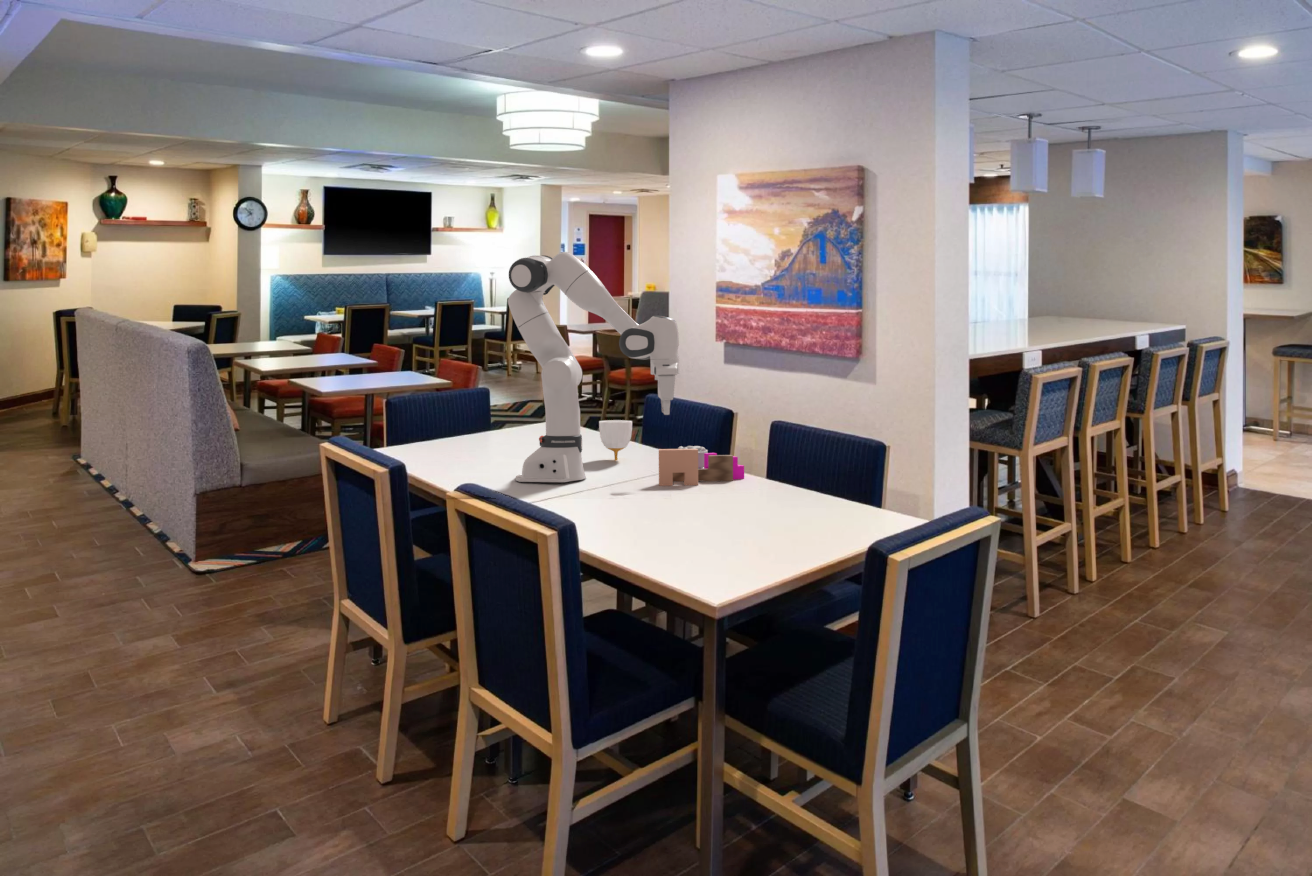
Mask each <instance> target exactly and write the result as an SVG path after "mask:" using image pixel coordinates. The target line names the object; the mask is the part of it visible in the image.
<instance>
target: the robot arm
mask: <svg viewBox="0 0 1312 876" xmlns="http://www.w3.org/2000/svg"><path fill="white" fill-rule="evenodd" d="M508 281H509V283H510V285H511V286H512V287H513V288H514V289H515V290H514V291H513V292H511V294H509V296H508V299H507V303H508V307H509V311H510V313H511V316H512V318H513V321H514V323H515V325H516V327H517V330H518V331H519V333H520V335H521V337H522V339H523V340H524V342H525V344H526V346H527V348H528V350H529V351H530V353H531V354H532V355H533V356H534V358H535V359H536V361H537V362H538V364H539V365H540V367H541V375H540V376H541V385H542V393H543V400H544V401H543V403H544V408H545V409H544V411H545V435H541V436H539V438H538V442H539V446H540V447H538V448H537V449H536V450H535V451H534V452H532V453H531V454H530V455H529V456H528V457H527V458H526V459H524V461H523V464H522V469H521V474H522V475H520V474H518V475H516V476H515V478H514V479H516V480H515V481H516V482H520V483H521V482H522V483H568V482H574V481H581V480H586V479H587V475H586V473H585V469H584V464H583V457H582V451H583V437H582V434H581V408H580V402H579V393H578V386H579V385H580V383H581V382H582V379H583V369H582V366H581V365H580V363H579V361H578V360H577V358H576V357H575V355H574V354H573V352H572V350H571V349H570V346H569V345H568V343H567V342H566V341H565V339H564V337H563V336H562V334H561V333H560V331H559V328H558V327H557V325H556V323H555V322H554V319H553V317H552V316H551V314H550V312H549V310H548V309H547V305H545V303H544V299H543V298H544V297H543V296H545V295H548V294H549V292H550V291H551V290H552V289H553V288H554V287H557V288H558V289H559V290H560V291H561V292H562V293H563V294H564V295H565V296H566V297H567V298H568V299H569V300H570V301H571V302H572V303H574V304H575V305H576V306H577V307H579V308H580V309H582V310H584V311H586V312H589V313H592V314H594V315H596V316H599V317H601V318H603V320H605V321H606V322H607V323H608V324H609V325H610V326H612V328H613V329H614V330H615V331H617V333H618V334H620V337H619V340H618V344H619V349H620V351H621V353H622V354H623V355H625V356H626V357H628V358H630V359H636V360H642V361H644V360H650V375H652V376H654V381H657V397H658V398H659V399H660V404H661V405H660V406H661V413H663V415H664V416H670V415H671V414H670V412H671V401H673V400H674V396H675V395H674V394H675V388H676V387H675V385H676V376H677V375H680V355H679V352H678V351H679V350H678V349H679V345H680V344H679V343H680V337H679V335H680V334H679V328H678V323H677V321H676V320H675V319H674V318H673V317H667V316H664V315H663V316H662V315H653V316H651V317H650V318H649V319H648V320H646V321H645V322H643V323H640V324H639V323H638V322H637V321H636V320H634V318H633V317H632V316H630V314H629V313H627V312H626V311H625V309H624V308H622V307H621V306H620V304H618V302H617V301H616V300H615V299H614V297H613V296H612V295H611V293H610V292H609V290H608V289H607V287H606V286H605V285H604V284H603V282H602V281H601V280H600V278H598V276H597V275H596V274H595V273H594V272H593V271H592V270H591V269H590V268H589V267H588V266H587V264H586V263H584V262H583V261H582V260H580V259H579V258H578V257H576V256H575V255H573V253H570V252H567V251H562V252H559V253H557V254H556V255H555V256H553V257H551V256H550V255H549V256H548V255H530V256H528V257H521V258H519V259H517V260H516V261H514V262H513V263H512V264H511V266H510V267H509V269H508Z"/></svg>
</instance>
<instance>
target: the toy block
mask: <svg viewBox="0 0 1312 876" xmlns="http://www.w3.org/2000/svg"><path fill="white" fill-rule="evenodd" d="M708 455H718V453H717V452H708V453H704V468H703V469H708ZM738 459H739V457H738V456H734V455H733V481H734V480H743V479H745V465H743V464H742V465H741V464H739V462H738Z"/></svg>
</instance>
